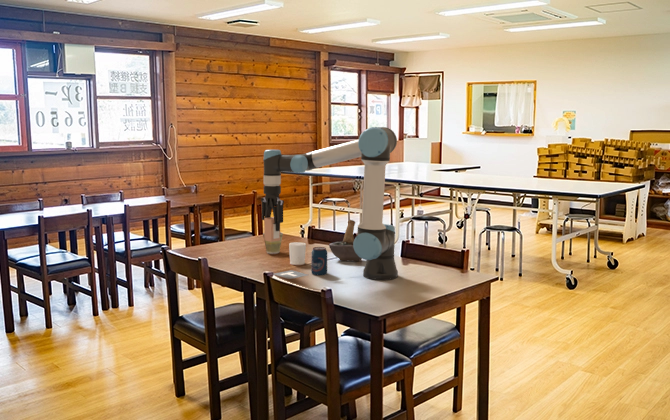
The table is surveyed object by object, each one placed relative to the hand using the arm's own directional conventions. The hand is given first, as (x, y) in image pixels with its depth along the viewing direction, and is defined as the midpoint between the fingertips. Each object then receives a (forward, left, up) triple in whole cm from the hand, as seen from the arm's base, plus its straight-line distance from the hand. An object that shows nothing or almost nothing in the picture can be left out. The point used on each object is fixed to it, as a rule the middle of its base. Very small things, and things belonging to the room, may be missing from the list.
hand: (272, 237), depth 278 cm
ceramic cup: (+34, -28, -16) cm, 47 cm away
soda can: (-18, -12, -16) cm, 27 cm away
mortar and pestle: (-6, -43, -16) cm, 46 cm away
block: (0, 0, -1) cm, 1 cm away
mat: (-11, -2, -16) cm, 19 cm away
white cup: (+4, -18, -16) cm, 24 cm away
